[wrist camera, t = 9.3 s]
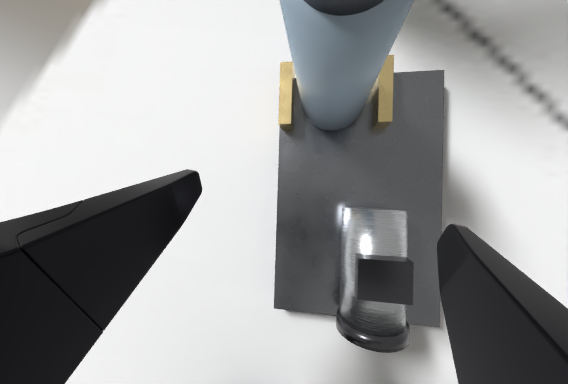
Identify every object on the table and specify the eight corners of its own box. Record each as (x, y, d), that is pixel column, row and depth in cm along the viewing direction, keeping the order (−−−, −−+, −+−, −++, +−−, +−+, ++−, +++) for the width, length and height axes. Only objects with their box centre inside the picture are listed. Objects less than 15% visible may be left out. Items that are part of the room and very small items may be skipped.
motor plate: (430, 317, 19) (492, 386, 12) (277, 300, 21) (255, 350, 14) (434, 73, 19) (498, 5, 12) (284, 81, 21) (266, 26, 14)
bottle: (375, 112, 19) (497, -77, 6) (317, 141, 19) (308, 29, 6) (348, 58, 19) (404, -230, 6) (292, 87, 20) (238, -116, 7)
